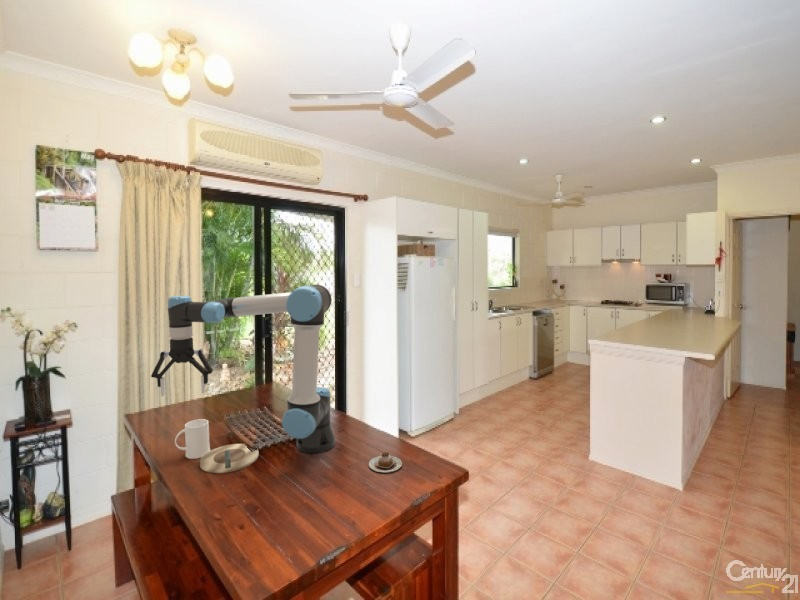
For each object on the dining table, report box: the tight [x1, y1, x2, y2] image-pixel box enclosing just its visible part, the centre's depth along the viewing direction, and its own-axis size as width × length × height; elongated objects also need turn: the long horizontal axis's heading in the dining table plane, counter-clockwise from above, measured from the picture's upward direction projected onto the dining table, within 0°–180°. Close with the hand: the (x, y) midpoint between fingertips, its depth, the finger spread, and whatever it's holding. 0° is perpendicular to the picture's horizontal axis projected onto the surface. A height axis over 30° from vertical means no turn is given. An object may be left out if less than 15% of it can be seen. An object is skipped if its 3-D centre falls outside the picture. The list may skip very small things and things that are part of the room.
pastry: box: [368, 451, 403, 474], centre depth 142 cm, size 12×12×5 cm
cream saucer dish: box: [199, 443, 260, 474], centre depth 146 cm, size 20×20×7 cm
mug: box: [174, 418, 212, 460], centre depth 149 cm, size 12×8×12 cm
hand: (183, 393), depth 147 cm, fingers open, 13 cm apart
